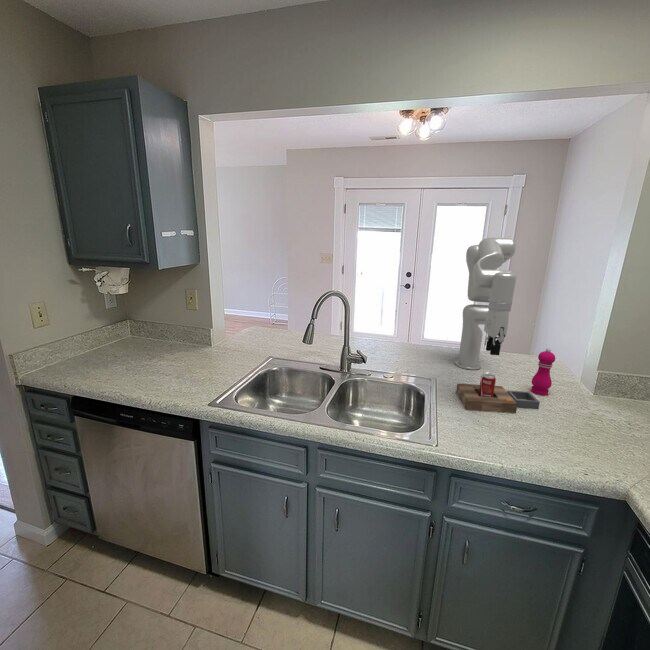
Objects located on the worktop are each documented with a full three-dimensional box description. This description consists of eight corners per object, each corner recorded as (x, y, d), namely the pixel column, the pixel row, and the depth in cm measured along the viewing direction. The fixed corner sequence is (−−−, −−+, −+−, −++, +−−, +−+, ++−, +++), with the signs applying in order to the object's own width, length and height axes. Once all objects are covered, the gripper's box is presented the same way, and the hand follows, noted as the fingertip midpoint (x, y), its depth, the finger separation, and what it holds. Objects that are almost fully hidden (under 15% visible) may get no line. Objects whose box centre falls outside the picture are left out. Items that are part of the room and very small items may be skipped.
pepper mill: (525, 389, 147) (534, 346, 142) (537, 387, 150) (546, 344, 144) (541, 397, 141) (550, 352, 135) (553, 394, 143) (563, 350, 138)
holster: (506, 397, 140) (507, 390, 139) (527, 398, 139) (529, 391, 139) (515, 407, 132) (516, 400, 131) (538, 408, 131) (539, 401, 130)
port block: (456, 392, 144) (457, 382, 143) (500, 394, 142) (501, 385, 141) (466, 409, 129) (468, 399, 128) (515, 413, 128) (517, 403, 127)
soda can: (479, 397, 139) (483, 370, 136) (493, 401, 136) (497, 374, 133) (475, 402, 135) (480, 375, 132) (489, 406, 132) (494, 378, 129)
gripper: (481, 301, 133) (475, 345, 138) (497, 310, 117) (489, 360, 122) (501, 302, 133) (494, 346, 138) (520, 311, 117) (511, 361, 122)
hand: (492, 352), depth 130 cm, fingers open, 3 cm apart
